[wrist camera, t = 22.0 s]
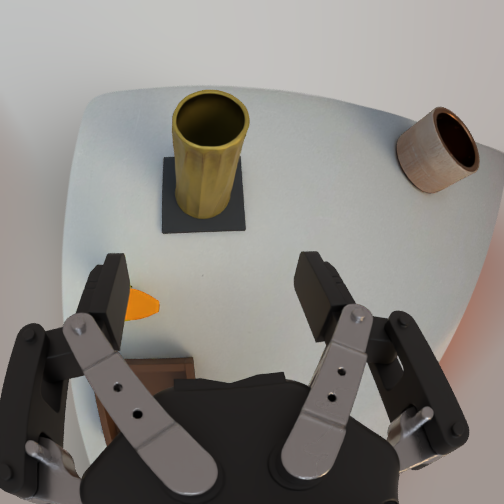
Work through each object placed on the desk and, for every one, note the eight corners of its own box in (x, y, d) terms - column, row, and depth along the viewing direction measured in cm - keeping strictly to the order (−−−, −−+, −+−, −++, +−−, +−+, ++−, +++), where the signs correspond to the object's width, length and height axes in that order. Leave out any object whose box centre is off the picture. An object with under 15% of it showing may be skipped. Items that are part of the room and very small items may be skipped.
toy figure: (169, 288, 29) (153, 280, 18) (168, 322, 29) (151, 335, 17) (109, 283, 28) (62, 272, 17) (107, 317, 28) (59, 324, 16)
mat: (162, 233, 30) (162, 232, 30) (163, 159, 32) (163, 157, 31) (245, 230, 32) (245, 229, 32) (239, 157, 33) (240, 155, 33)
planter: (403, 191, 38) (447, 167, 28) (386, 128, 39) (422, 97, 30) (447, 197, 40) (487, 178, 31) (431, 140, 42) (465, 116, 32)
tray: (114, 442, 25) (108, 453, 22) (98, 358, 27) (89, 363, 24) (204, 442, 27) (205, 455, 24) (192, 357, 29) (192, 362, 26)
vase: (174, 219, 30) (160, 156, 16) (176, 167, 31) (169, 84, 17) (230, 219, 31) (258, 158, 18) (229, 168, 32) (254, 87, 19)
